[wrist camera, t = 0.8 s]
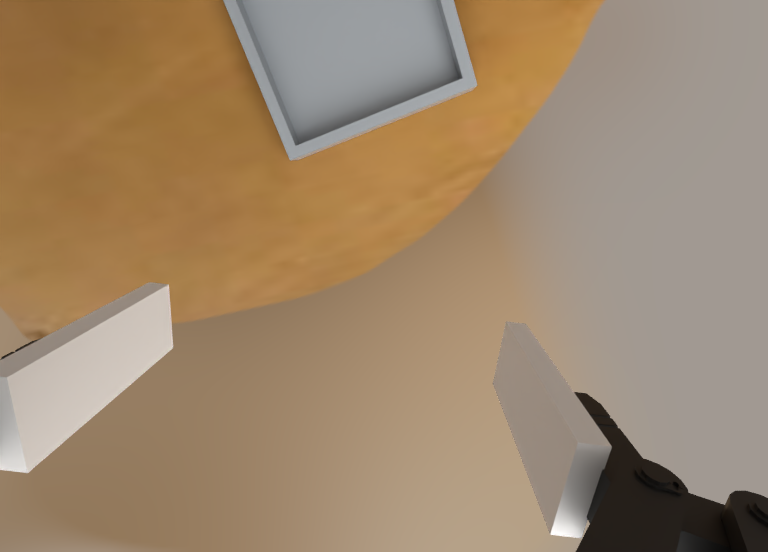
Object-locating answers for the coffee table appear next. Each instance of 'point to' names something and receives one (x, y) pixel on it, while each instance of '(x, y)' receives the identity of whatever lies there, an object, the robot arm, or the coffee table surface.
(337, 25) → the tray
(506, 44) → the coffee table surface
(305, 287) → the coffee table surface
